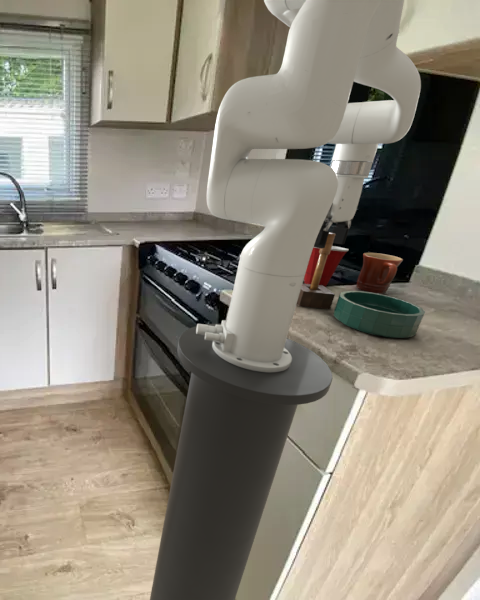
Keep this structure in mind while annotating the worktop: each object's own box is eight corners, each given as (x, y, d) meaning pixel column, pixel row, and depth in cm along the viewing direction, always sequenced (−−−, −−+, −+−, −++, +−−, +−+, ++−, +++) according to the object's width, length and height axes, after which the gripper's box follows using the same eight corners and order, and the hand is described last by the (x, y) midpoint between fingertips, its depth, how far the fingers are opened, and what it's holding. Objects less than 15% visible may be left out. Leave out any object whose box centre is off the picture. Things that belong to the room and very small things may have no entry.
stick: (306, 303, 90) (327, 233, 84) (303, 300, 92) (323, 231, 86) (315, 304, 90) (337, 234, 83) (312, 302, 92) (333, 232, 85)
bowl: (350, 334, 74) (359, 310, 72) (322, 309, 87) (329, 288, 85) (432, 344, 71) (443, 319, 69) (389, 316, 84) (398, 295, 82)
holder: (299, 306, 88) (303, 291, 87) (290, 296, 95) (294, 282, 93) (330, 309, 87) (335, 294, 86) (318, 299, 93) (323, 285, 92)
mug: (347, 284, 108) (358, 251, 104) (380, 288, 106) (393, 254, 102) (364, 297, 97) (377, 261, 93) (401, 301, 95) (416, 265, 91)
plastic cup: (338, 284, 107) (351, 245, 103) (333, 292, 100) (347, 251, 95) (298, 276, 114) (309, 239, 109) (290, 283, 106) (301, 244, 102)
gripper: (348, 170, 87) (327, 239, 93) (311, 169, 78) (292, 245, 84) (384, 171, 81) (360, 245, 87) (350, 170, 72) (325, 252, 78)
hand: (326, 245), depth 86 cm, fingers open, 9 cm apart
